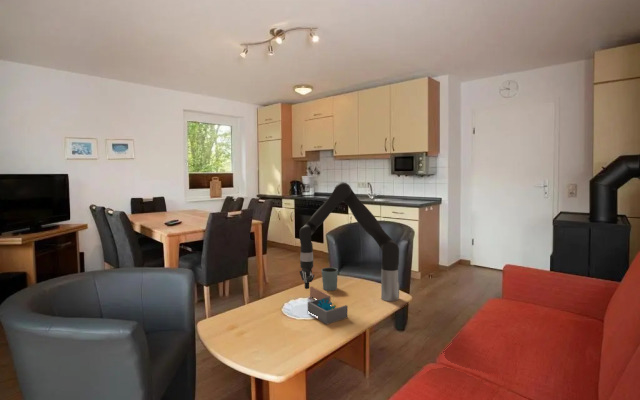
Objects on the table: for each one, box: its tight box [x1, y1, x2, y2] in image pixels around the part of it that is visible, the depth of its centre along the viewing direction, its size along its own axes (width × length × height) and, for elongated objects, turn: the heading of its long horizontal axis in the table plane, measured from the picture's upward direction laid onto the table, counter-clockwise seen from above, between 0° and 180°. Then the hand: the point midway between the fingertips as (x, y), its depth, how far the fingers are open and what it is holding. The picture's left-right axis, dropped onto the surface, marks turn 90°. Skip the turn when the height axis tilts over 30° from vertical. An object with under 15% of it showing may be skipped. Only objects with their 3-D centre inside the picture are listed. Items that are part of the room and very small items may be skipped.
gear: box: [317, 299, 337, 311], centre depth 176 cm, size 11×6×10 cm
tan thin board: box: [309, 286, 332, 303], centre depth 193 cm, size 1×18×6 cm, turn 35°
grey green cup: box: [321, 267, 339, 292], centre depth 215 cm, size 10×10×12 cm
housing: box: [307, 297, 348, 325], centre depth 174 cm, size 13×16×6 cm
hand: (306, 288), depth 203 cm, fingers closed
